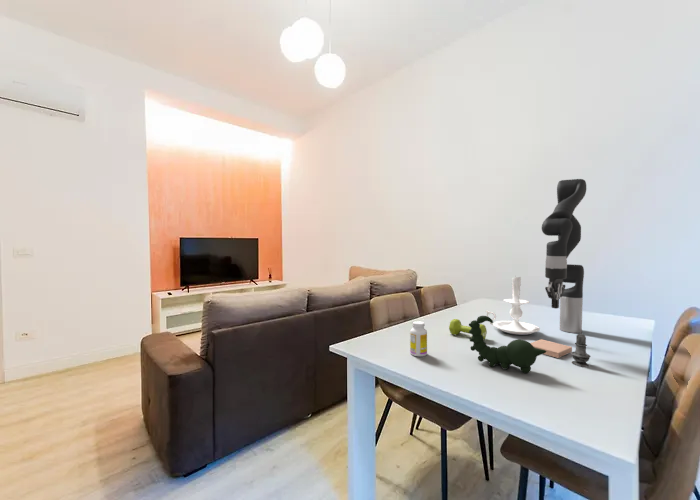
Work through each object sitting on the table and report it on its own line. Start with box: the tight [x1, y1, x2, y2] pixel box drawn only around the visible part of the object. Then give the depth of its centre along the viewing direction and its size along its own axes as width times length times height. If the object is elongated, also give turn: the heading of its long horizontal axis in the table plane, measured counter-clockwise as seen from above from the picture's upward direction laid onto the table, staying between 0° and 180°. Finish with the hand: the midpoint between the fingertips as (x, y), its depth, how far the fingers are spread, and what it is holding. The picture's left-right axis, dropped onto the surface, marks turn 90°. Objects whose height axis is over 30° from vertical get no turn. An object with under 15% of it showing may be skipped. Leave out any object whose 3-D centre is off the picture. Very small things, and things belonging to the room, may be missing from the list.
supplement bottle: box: [409, 320, 428, 358], centre depth 129 cm, size 7×7×13 cm
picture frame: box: [529, 338, 573, 359], centre depth 133 cm, size 2×12×12 cm
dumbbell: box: [448, 318, 488, 340], centre depth 152 cm, size 16×8×7 cm, turn 42°
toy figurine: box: [468, 315, 546, 374], centre depth 116 cm, size 9×19×25 cm
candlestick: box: [485, 275, 541, 336], centre depth 160 cm, size 21×25×28 cm
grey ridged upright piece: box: [570, 331, 591, 368], centre depth 119 cm, size 6×6×12 cm
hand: (555, 307), depth 135 cm, fingers closed
